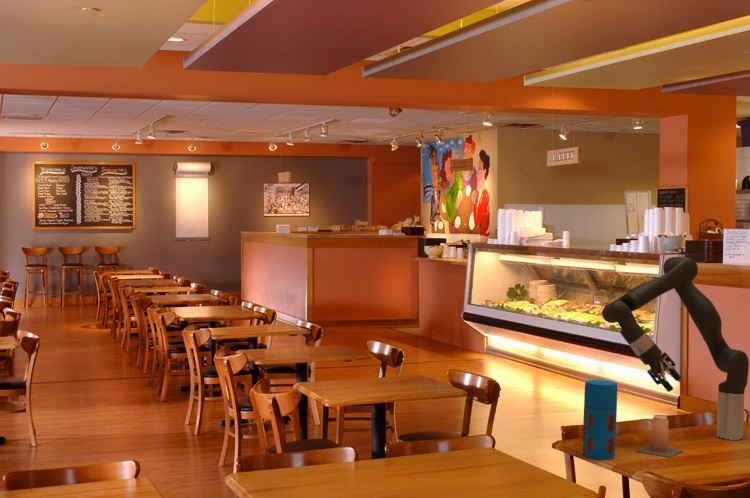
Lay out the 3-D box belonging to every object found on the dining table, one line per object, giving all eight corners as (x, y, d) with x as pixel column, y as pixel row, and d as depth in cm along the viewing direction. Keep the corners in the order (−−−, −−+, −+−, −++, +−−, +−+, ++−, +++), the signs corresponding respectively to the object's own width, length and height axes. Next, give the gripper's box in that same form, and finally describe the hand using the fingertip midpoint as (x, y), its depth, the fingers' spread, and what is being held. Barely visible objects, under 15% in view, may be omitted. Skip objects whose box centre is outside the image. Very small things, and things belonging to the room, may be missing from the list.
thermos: (612, 452, 327) (615, 380, 326) (617, 460, 316) (620, 385, 316) (580, 451, 328) (583, 379, 327) (584, 458, 317) (586, 384, 317)
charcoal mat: (649, 445, 339) (649, 444, 339) (682, 451, 332) (682, 450, 332) (636, 451, 330) (636, 450, 330) (669, 457, 322) (669, 456, 322)
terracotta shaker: (654, 447, 335) (655, 413, 334) (669, 450, 331) (671, 416, 331) (648, 450, 330) (649, 416, 330) (663, 453, 327) (665, 418, 327)
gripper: (646, 352, 328) (676, 389, 326) (659, 335, 338) (689, 371, 337) (630, 361, 333) (660, 398, 331) (644, 344, 343) (673, 380, 342)
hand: (675, 384), depth 334 cm, fingers open, 8 cm apart
